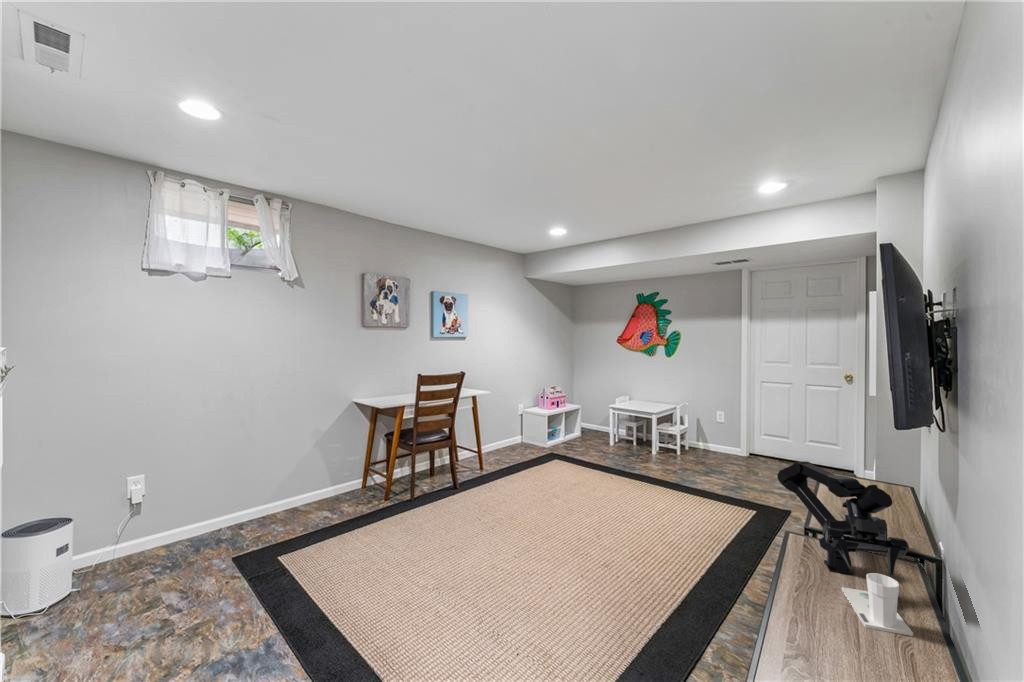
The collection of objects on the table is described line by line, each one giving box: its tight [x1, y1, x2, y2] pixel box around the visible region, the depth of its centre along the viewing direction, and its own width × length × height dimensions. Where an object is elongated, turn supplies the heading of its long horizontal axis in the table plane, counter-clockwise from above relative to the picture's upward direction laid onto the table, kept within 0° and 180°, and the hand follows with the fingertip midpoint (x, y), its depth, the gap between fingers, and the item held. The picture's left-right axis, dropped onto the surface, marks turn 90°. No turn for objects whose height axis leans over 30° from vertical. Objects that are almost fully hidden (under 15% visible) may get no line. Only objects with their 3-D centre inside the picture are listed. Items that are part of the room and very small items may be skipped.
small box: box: [844, 514, 888, 554], centre depth 155 cm, size 11×6×10 cm, turn 74°
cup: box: [865, 572, 900, 628], centre depth 114 cm, size 7×7×11 cm
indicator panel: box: [841, 586, 914, 637], centre depth 120 cm, size 18×10×1 cm, turn 158°
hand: (870, 571), depth 122 cm, fingers open, 9 cm apart
